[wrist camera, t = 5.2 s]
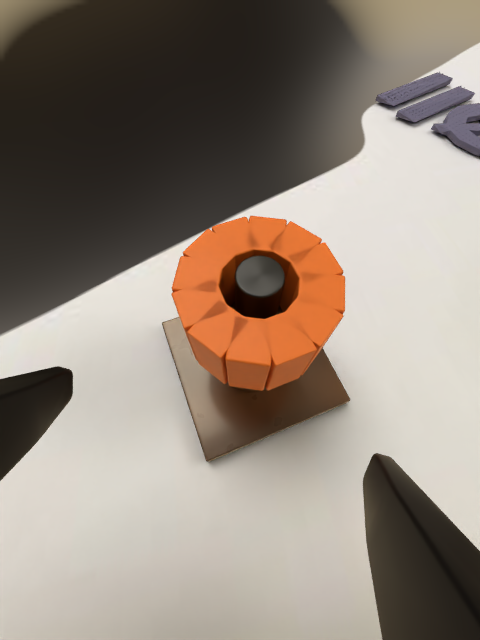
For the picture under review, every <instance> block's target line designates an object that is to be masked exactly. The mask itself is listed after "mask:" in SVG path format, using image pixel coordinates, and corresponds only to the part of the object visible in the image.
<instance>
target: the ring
mask: <svg viewBox="0 0 480 640" xmlns="http://www.w3.org/2000/svg"><path fill="white" fill-rule="evenodd" d="M286 224H287V221H286V220H284V219H275V218H266V217H257V216H250V218H249V221H248V219H247V218H246V217H242V218H239V219H236V220H232V221H229V222H226V223H223V224H219V225H216V226H213V227H212V231H211V230H210V229H207V230H206V231H205V232H204V233H203V234H202V235H201V236H200V237H199V238H197V239H196V240H195V241H194V242H193V243H192V244H191V245H190V246H189V247H188V248H187V249H186V250H185V251H184V252H183V255H184V256H181V257H180V260H179V264H178V267H177V271H176V275H175V278H174V282H173V286H172V291H173V293H172V297H173V300H174V303H175V305H176V308H177V311H178V314H179V317H180V320H181V322H182V325H183V328H184V331H185V333H186V336H187V338H188V341H189V343H190V346H191V349H192V351H193V354H194V356H195V359H196V360H198V363H199V364H200V365H201V366H202V367H203V368H205V369H206V370H207V371H208V372H210V373H211V374H212V375H213V376H215V377H216V378H217V379H218V380H220V381H221V382H222V383H223V384H226V383H227V382H228V384H229V386H232V387H239V388H246V389H253V390H260V391H263V390H264V387H266V389H267V390H271V389H273V388H276V387H278V386H281V385H283V384H286V383H288V382H291V381H293V380H296V379H298V378H299V377H300V375H303V374H304V373H305V371H306V370H307V369H308V367H309V366H310V364H311V363H312V362H313V360H314V359H315V357H316V356H317V355H318V353H319V352H320V351H321V349H322V348H323V346H324V345H325V343H326V342H327V340H328V339H329V337H330V336H331V334H332V333H333V331H334V330H335V328H336V327H337V325H338V324H339V322H340V321H341V319H342V318H343V313H344V311H345V276H342V274H343V270H342V268H341V267H340V265H339V264H338V262H337V260H336V259H335V257H334V256H333V254H332V253H331V251H330V249H329V248H328V246H327V245H326V243H321V241H322V239H321V238H319V237H317V236H316V235H314V234H312V233H310V232H309V231H307V230H305V229H304V228H302V227H300V226H298V225H297V224H295V223H293V222H291V221H290V222H289V223H288V224H287V225H286ZM259 255H260V256H267V257H270V258H272V259H274V260H275V261H277V262H278V263H279V264H280V265H281V267H282V268H283V271H284V274H285V282H284V286H283V291H282V295H281V299H280V303H279V306H280V307H281V309H282V311H283V313H280V314H277V315H275V316H272V317H269V318H266V319H260V318H252V317H245V316H243V315H241V314H240V313H238V312H237V311H236V310H234V309H233V308H231V307H230V306H231V305H232V304H233V303H234V302H235V271H236V269H237V267H238V265H239V264H240V263H241V262H242V261H243V260H245V259H247V258H249V257H252V256H259Z"/></svg>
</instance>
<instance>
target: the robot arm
mask: <svg viewBox="0 0 480 640" xmlns="http://www.w3.org/2000/svg"><path fill="white" fill-rule="evenodd" d="M72 394H73V373H72V371H71V370H70V369H66V368H63V367H53V368H48V369H44V370H39V371H35V372H30V373H26V374H22V375H17V376H13V377H8V378H4V379H0V481H1V480H2V479H3V478H4V477H5V475H6V474H7V473H8V472H9V471H10V470H11V469H12V468H13V467H14V466H15V465H16V464H17V463H18V462H19V461H20V460H21V459H22V458H23V457H24V456H25V454H26V453H27V452H28V451H29V450H30V449H31V448H32V447H33V446H34V445H35V444H36V443H37V441H38V440H39V439H40V438H41V437H42V435H43V434H44V433H45V432H46V430H47V429H48V428H49V427H50V425H51V424H52V423H53V421H54V420H55V419H56V418H57V416H58V415H59V414H60V413H61V411H62V410H63V409H64V407H65V406H66V405H67V404H68V402H69V401H70V399H71V397H72ZM363 494H364V511H365V528H366V541H367V549H368V555H369V561H370V567H371V573H372V579H373V585H374V592H375V598H376V604H377V610H378V616H379V622H380V628H381V634H382V640H480V551H479V550H478V549H477V548H476V547H475V546H474V545H473V544H472V543H471V541H470V540H469V539H468V538H467V537H466V536H465V535H464V534H463V533H462V532H461V531H460V530H459V529H458V528H457V527H456V526H455V525H454V523H453V522H452V521H451V520H450V519H449V518H448V517H447V516H446V515H445V514H444V513H443V512H442V511H441V510H440V509H439V508H438V507H437V505H436V504H435V503H434V502H433V501H432V500H431V499H430V498H429V497H428V496H427V495H426V494H425V493H424V492H423V491H422V490H421V489H420V488H419V486H418V485H417V484H416V483H415V482H414V481H413V480H412V479H411V478H410V477H409V476H408V475H407V474H406V473H405V472H404V471H403V470H402V468H401V467H400V466H399V465H398V464H397V463H396V462H395V461H394V460H393V459H392V458H391V457H389V456H385V455H382V454H378V453H376V454H374V455H373V456H372V458H371V460H370V463H369V465H368V468H367V470H366V472H365V475H364V478H363Z"/></svg>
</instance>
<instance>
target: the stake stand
mask: <svg viewBox="0 0 480 640" xmlns="http://www.w3.org/2000/svg"><path fill="white" fill-rule="evenodd" d="M284 282H285V274H284V271H283V268H282V267H281V265H280V264H279V263H278V262H277V261H275V260H274V259H272V258H270V257H267V256H260V255H259V256H252V257H249V258H247V259H245V260H243V261H242V262H241V263H240V264H239V265H238V267H237V269H236V271H235V302H234V303H233V304H232V305H231V306H230V307H231V308H233V309H234V310H236V311H237V312H238V313H240V314H241V315H243V316H245V317H252V318H260V319H266V318H269V317H272V316H275V315H277V314H280V313H283V311H282V309H281V307H280V306H279V303H280V299H281V295H282V291H283V286H284ZM162 325H163V328H164V331H165V335H166V338H167V341H168V344H169V347H170V350H171V353H172V356H173V359H174V362H175V365H176V369H177V372H178V375H179V378H180V381H181V384H182V387H183V390H184V393H185V396H186V399H187V403H188V406H189V409H190V412H191V415H192V418H193V421H194V424H195V427H196V430H197V433H198V437H199V440H200V443H201V446H202V449H203V452H204V455H205V458H206V461H207V462H210V461H212V460H215V459H217V458H219V457H222V456H224V455H226V454H229V453H231V452H233V451H236V450H238V449H240V448H243V447H245V446H247V445H250V444H252V443H254V442H257V441H259V440H261V439H264V438H266V437H268V436H271V435H273V434H275V433H278V432H280V431H282V430H285V429H287V428H289V427H292V426H294V425H297V424H299V423H301V422H304V421H306V420H308V419H311V418H313V417H315V416H318V415H320V414H322V413H325V412H327V411H329V410H332V409H334V408H336V407H339V406H341V405H343V404H346V403H347V402H349V401H350V398H349V396H348V395H347V393H346V391H345V389H344V387H343V385H342V383H341V382H340V380H339V378H338V376H337V374H336V372H335V370H334V369H333V367H332V365H331V363H330V361H329V359H328V357H327V356H326V354H325V352H324V350H323V348H322V349H321V351H320V352H319V353H318V355H317V356H316V357H315V359H314V360H313V362H312V363H311V364H310V366H309V367H308V369H307V370H306V371H305V373H304V374H303V375H300V377H299V378H298V379H296V380H293V381H291V382H288V383H286V384H283V385H281V386H278V387H276V388H273V389H271V390H267V389H266V387H264V390H263V391H260V390H253V389H246V388H239V387H232V386H229V384H228V382H227V383H226V384H223V383H222V382H221V381H220V380H218V379H217V378H216V377H215V376H213V375H212V374H211V373H210V372H208V371H207V370H206V369H205V368H203V367H202V366H201V365H200V364H199V363H198V360H196V359H195V356H194V354H193V351H192V349H191V346H190V343H189V341H188V338H187V336H186V333H185V331H184V328H183V325H182V322H181V320H180V317H178V318H175V319H172V320H169V321H166V322H163V323H162Z"/></svg>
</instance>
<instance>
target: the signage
mask: <svg viewBox="0 0 480 640" xmlns="http://www.w3.org/2000/svg"><path fill="white" fill-rule="evenodd" d="M452 79H453V78H451V77H448V76H445V75H443V74H440V72H439V73H435V74H432V75H430V76H427V77H424V78H422V79H419V80H416V81H414V82H411V83H408V84H406V85H403V86H400V87H398V88H395V89H392V90H390V91H387V92H385V93H382V94H379V95H377V98H376V101H378V102H381V103H385V104H388V105H392V106H395V105H397V104H400V103H403V102H405V101H408V100H410V99H413V98H415V97H418V96H421V95H423V94H426V93H428V92H431V91H433V90H436V89H438V88H441V87H444V86H446V85H449V84H450V82H451V81H452ZM474 94H475V93H474V92H471V91H469V90H466V89H464V88H462V87H461V86H460V87H456V88H454V89H451V90H449V91H446V92H444V93H441V94H439V95H436V96H434V97H431V98H429V99H426V100H424V101H421V102H419V103H416V104H414V105H411V106H409V107H406V108H404V109H401V110H399V111H398V112H397V114H396V117H399V118H402V119H405V120H409V121H412V122H417V121H419V120H422V119H424V118H426V117H429V116H431V115H434V114H436V113H438V112H441V111H443V110H445V109H448V108H450V107H453V106H455V105H457V104H460V103H462V102H465V101H467V100H469V99H471V98H472V97H473V95H474ZM476 120H480V103H477V104H468V105H459V106H457V107H456V108H454V109H453V110H451V111H450V112H449V113H448V115H447V117H446V118H445V120H444V123H442V124H434V125H433V126H432V128H431V130H434V131H436V132H439V133H441V134H444V135H446V136H448V138H449V139H450V140H451V141H452V142H453V143H454V144H455V145H457V146H459V147H461V148H463V149H465V150H467V151H469V152H470V153H472V154H474V155H477V156H480V123H467V122H472V121H476ZM466 123H467V124H466Z"/></svg>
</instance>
